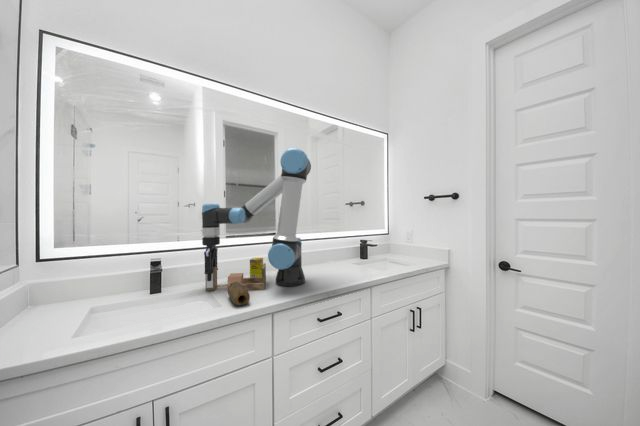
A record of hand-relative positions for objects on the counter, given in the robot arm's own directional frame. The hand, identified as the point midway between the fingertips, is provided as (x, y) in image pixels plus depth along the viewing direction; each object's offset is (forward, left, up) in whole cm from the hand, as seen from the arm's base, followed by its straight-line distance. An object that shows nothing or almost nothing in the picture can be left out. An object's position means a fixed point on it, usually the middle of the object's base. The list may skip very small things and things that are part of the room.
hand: (211, 285), depth 112 cm
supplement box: (-19, -16, -2) cm, 25 cm away
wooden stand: (-19, 0, -2) cm, 19 cm away
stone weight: (-15, +19, -2) cm, 24 cm away
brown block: (-6, 0, -1) cm, 6 cm away
